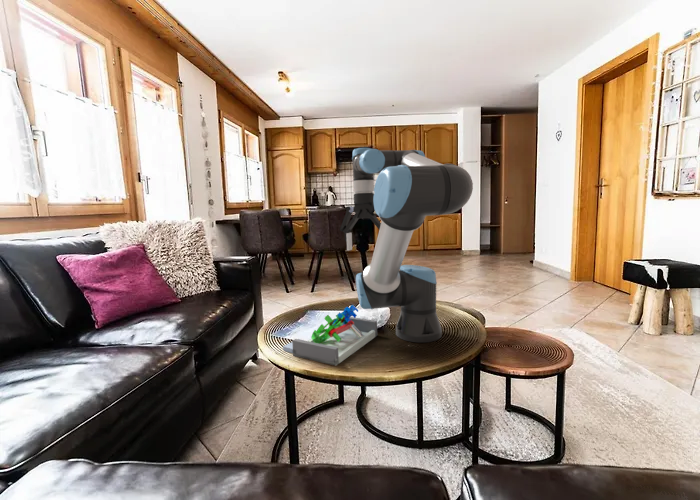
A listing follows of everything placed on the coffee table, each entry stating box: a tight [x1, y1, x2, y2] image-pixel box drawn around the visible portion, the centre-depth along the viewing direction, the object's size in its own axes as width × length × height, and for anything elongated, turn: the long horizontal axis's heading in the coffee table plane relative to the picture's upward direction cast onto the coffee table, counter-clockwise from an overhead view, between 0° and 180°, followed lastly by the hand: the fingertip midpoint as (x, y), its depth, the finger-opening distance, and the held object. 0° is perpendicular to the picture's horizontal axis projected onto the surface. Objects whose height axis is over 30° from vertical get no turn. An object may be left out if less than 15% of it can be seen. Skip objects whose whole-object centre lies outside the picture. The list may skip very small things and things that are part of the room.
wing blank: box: [282, 338, 306, 354], centre depth 112 cm, size 7×4×2 cm, turn 144°
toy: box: [310, 304, 364, 344], centre depth 113 cm, size 20×10×11 cm
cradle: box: [291, 316, 378, 367], centre depth 114 cm, size 15×26×5 cm, turn 150°
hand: (365, 250), depth 133 cm, fingers open, 13 cm apart
